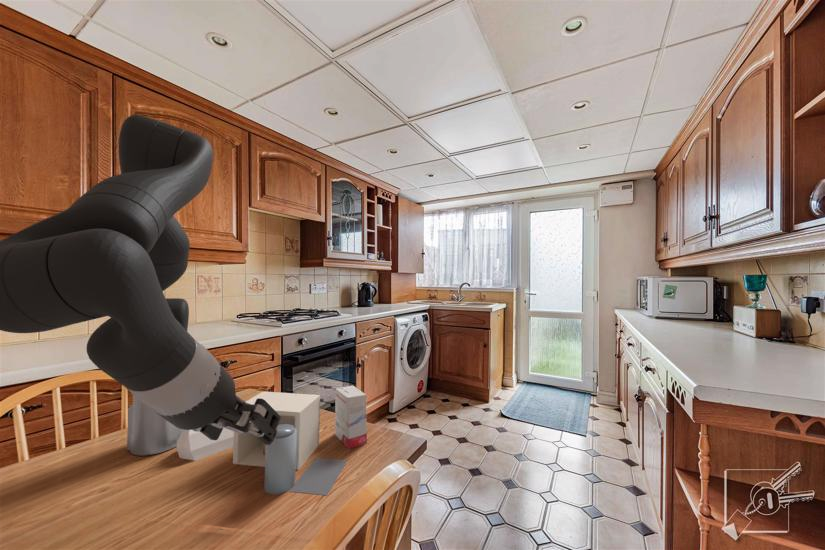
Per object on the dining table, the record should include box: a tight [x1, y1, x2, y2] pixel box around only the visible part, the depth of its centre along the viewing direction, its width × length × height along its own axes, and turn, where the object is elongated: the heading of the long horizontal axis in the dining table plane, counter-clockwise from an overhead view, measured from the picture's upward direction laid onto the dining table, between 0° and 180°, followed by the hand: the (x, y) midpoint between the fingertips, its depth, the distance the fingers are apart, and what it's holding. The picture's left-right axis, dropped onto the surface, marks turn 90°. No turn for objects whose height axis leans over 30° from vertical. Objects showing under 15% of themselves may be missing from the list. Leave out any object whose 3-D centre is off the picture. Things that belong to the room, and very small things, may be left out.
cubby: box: [232, 391, 321, 471], centre depth 69 cm, size 14×10×12 cm
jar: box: [263, 424, 297, 495], centre depth 59 cm, size 5×5×11 cm
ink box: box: [334, 385, 368, 449], centre depth 77 cm, size 9×5×12 cm, turn 33°
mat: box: [288, 457, 348, 497], centre depth 62 cm, size 7×11×1 cm, turn 173°
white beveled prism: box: [176, 428, 234, 462], centre depth 76 cm, size 7×7×24 cm
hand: (244, 435), depth 48 cm, fingers open, 8 cm apart
